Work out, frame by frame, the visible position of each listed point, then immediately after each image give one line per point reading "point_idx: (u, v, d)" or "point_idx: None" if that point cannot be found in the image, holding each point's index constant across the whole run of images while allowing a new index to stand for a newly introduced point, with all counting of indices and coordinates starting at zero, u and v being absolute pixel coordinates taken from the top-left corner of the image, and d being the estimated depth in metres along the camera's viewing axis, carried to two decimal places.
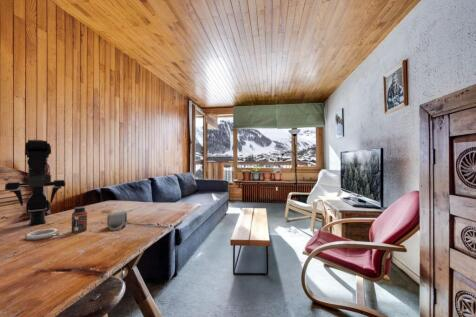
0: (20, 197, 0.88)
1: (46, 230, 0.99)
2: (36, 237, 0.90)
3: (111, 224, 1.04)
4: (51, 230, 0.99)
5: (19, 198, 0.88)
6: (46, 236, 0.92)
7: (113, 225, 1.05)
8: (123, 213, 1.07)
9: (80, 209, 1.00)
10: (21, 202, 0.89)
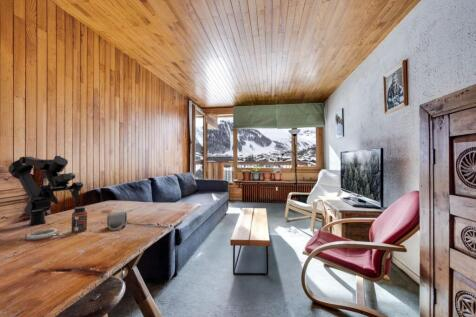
0: (54, 196, 1.00)
1: (46, 230, 0.99)
2: (36, 237, 0.90)
3: (111, 224, 1.04)
4: (51, 230, 0.99)
5: (54, 197, 1.00)
6: (46, 236, 0.92)
7: (113, 225, 1.05)
8: (123, 213, 1.07)
9: (80, 209, 1.00)
10: (56, 200, 1.00)
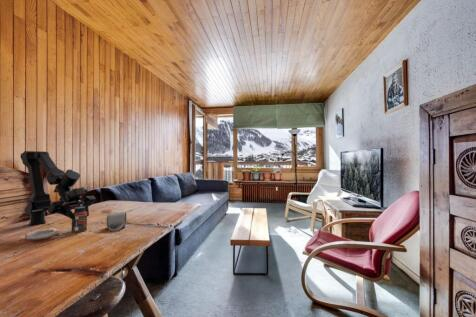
0: (70, 211, 0.98)
1: (46, 230, 0.99)
2: (36, 237, 0.90)
3: (110, 225, 1.03)
4: (51, 230, 0.99)
5: (70, 212, 0.98)
6: (46, 236, 0.92)
7: (112, 226, 1.04)
8: (123, 214, 1.06)
9: (80, 209, 1.00)
10: (73, 215, 0.98)
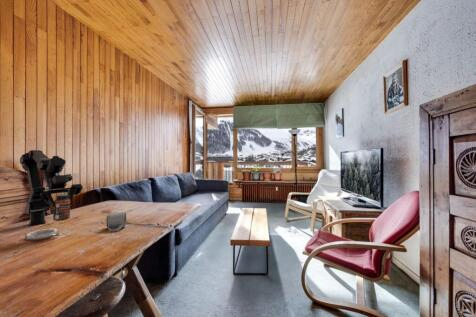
0: (51, 198, 0.95)
1: (46, 230, 0.99)
2: (36, 237, 0.90)
3: (110, 225, 1.03)
4: (51, 230, 0.99)
5: (51, 199, 0.95)
6: (46, 236, 0.92)
7: (112, 226, 1.03)
8: (122, 214, 1.06)
9: (61, 197, 0.96)
10: (53, 203, 0.95)
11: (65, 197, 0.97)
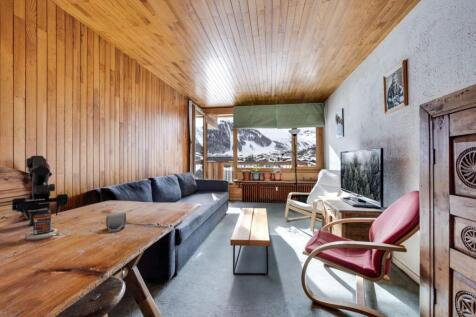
0: (26, 210, 0.91)
1: None
2: (36, 237, 0.90)
3: (110, 225, 1.02)
4: (51, 230, 0.99)
5: (25, 211, 0.91)
6: (46, 236, 0.92)
7: (112, 226, 1.03)
8: (122, 214, 1.05)
9: (40, 211, 0.93)
10: (27, 214, 0.91)
11: (44, 211, 0.94)
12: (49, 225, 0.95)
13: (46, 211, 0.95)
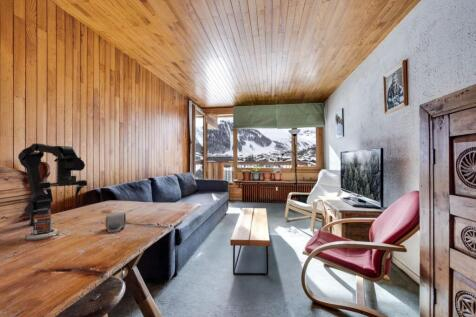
0: (51, 195, 1.04)
1: None
2: (36, 237, 0.90)
3: (109, 226, 1.01)
4: (51, 230, 0.99)
5: (50, 195, 1.04)
6: (46, 236, 0.92)
7: (112, 227, 1.02)
8: (122, 215, 1.05)
9: (40, 211, 0.93)
10: (51, 199, 1.05)
11: (44, 211, 0.94)
12: (49, 225, 0.95)
13: (46, 211, 0.95)
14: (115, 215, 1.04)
